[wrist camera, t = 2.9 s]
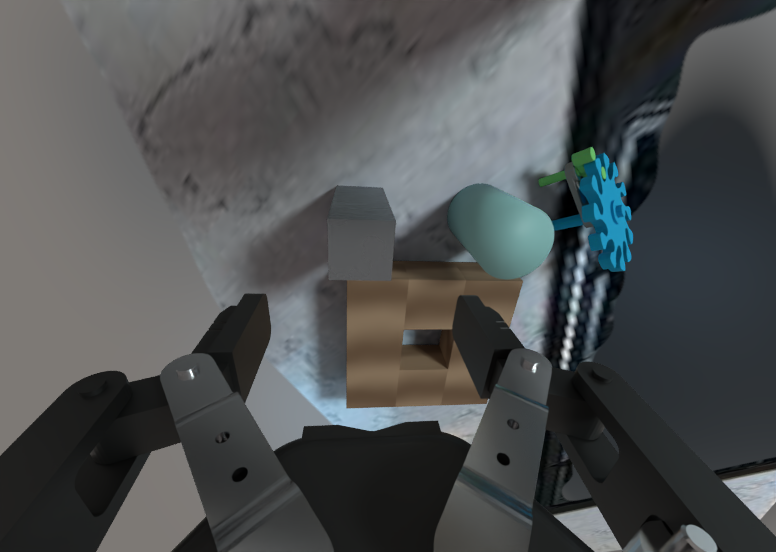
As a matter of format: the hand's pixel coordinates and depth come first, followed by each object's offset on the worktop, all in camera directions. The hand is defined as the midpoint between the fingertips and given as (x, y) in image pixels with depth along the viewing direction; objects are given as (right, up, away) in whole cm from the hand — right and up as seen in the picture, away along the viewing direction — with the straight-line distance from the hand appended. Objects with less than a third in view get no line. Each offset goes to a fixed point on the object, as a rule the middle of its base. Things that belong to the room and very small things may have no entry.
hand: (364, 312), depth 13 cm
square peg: (-2, +8, +15) cm, 17 cm away
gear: (+19, +9, +16) cm, 27 cm away
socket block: (+5, -4, +21) cm, 22 cm away
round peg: (+9, +7, +16) cm, 20 cm away
